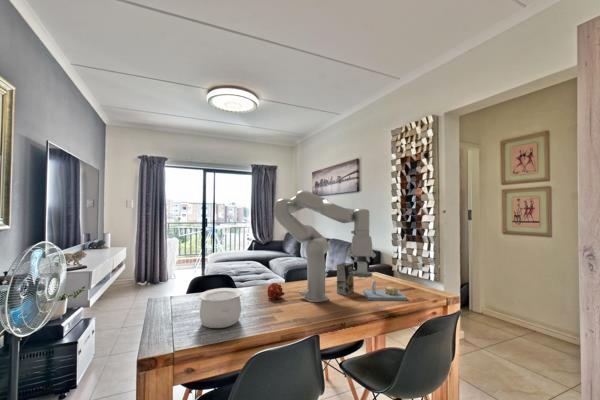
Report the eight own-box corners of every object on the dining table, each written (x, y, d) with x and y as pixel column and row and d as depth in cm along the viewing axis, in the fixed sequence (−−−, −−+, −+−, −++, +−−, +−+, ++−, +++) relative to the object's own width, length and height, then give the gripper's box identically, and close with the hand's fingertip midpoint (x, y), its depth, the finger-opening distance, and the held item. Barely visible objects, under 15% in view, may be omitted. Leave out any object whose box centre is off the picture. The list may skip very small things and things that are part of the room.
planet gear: (352, 277, 137) (352, 264, 137) (349, 272, 147) (349, 260, 147) (374, 277, 136) (374, 265, 136) (369, 273, 147) (369, 261, 147)
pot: (196, 317, 124) (196, 289, 125) (235, 311, 131) (236, 285, 132) (201, 338, 104) (202, 304, 105) (247, 329, 111) (247, 298, 112)
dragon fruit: (273, 297, 158) (279, 307, 147) (261, 290, 155) (266, 299, 144) (282, 284, 159) (288, 293, 148) (271, 277, 156) (276, 285, 145)
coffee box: (346, 295, 156) (346, 266, 156) (336, 293, 159) (336, 264, 160) (354, 291, 163) (353, 263, 163) (344, 289, 167) (344, 262, 167)
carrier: (368, 300, 147) (368, 283, 147) (363, 292, 161) (362, 277, 161) (407, 300, 146) (406, 283, 147) (398, 292, 160) (398, 277, 161)
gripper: (345, 233, 139) (345, 270, 138) (380, 234, 138) (380, 271, 138) (343, 232, 146) (343, 267, 146) (376, 233, 146) (376, 268, 145)
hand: (361, 269), depth 142 cm, fingers closed on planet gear, 4 cm apart
